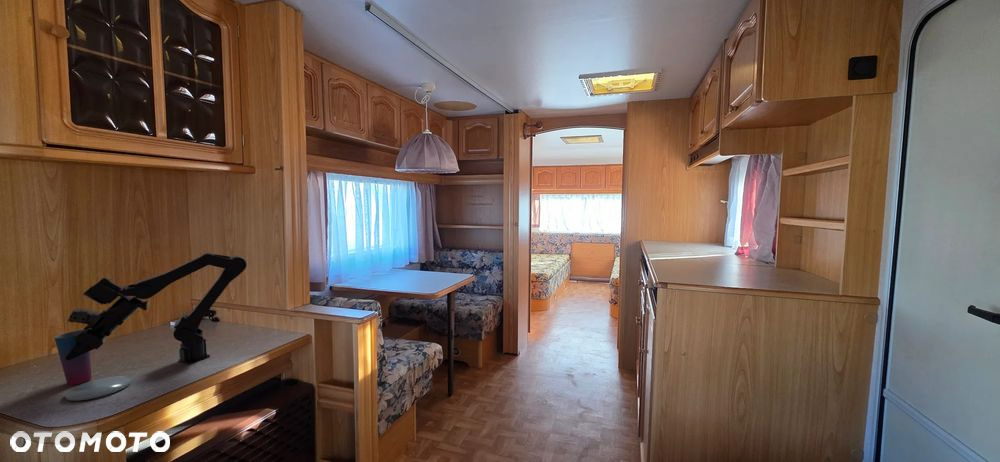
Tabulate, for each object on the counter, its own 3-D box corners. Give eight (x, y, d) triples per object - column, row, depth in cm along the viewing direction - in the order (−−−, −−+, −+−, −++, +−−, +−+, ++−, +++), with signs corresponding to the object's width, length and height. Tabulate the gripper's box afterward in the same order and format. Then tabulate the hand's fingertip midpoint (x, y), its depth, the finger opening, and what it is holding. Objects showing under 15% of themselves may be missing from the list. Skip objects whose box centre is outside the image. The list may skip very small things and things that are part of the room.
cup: (102, 375, 120) (94, 329, 118) (79, 386, 113) (70, 337, 111) (80, 376, 120) (72, 330, 118) (55, 387, 113) (46, 338, 111)
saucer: (115, 377, 119) (114, 373, 119) (141, 383, 115) (140, 379, 115) (55, 397, 107) (55, 393, 107) (82, 405, 103) (81, 401, 103)
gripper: (97, 292, 124) (49, 333, 118) (82, 304, 109) (26, 352, 103) (132, 312, 129) (88, 351, 124) (122, 326, 115) (72, 372, 109)
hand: (69, 356), depth 115 cm, fingers open, 6 cm apart
